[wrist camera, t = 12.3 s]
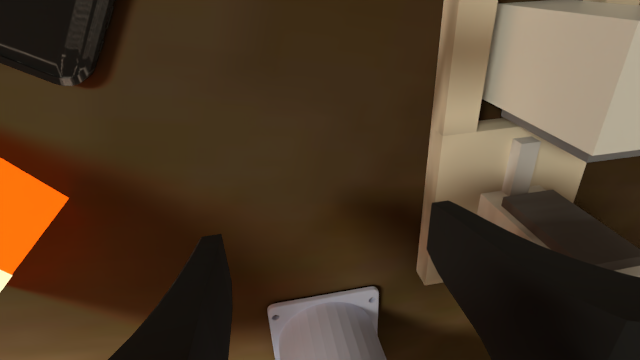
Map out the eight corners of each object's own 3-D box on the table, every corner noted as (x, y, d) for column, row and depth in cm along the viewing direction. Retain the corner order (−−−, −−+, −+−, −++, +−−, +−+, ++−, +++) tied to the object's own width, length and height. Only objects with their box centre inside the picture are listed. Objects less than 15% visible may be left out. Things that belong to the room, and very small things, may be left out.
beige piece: (539, 249, 29) (657, 357, 21) (416, 270, 28) (491, 396, 19) (632, -58, 19) (922, -81, 11) (448, -49, 18) (625, -67, 10)
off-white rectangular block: (540, 101, 23) (670, 157, 16) (479, 108, 22) (587, 169, 15) (566, -1, 20) (737, 13, 13) (497, 3, 20) (638, 21, 13)
